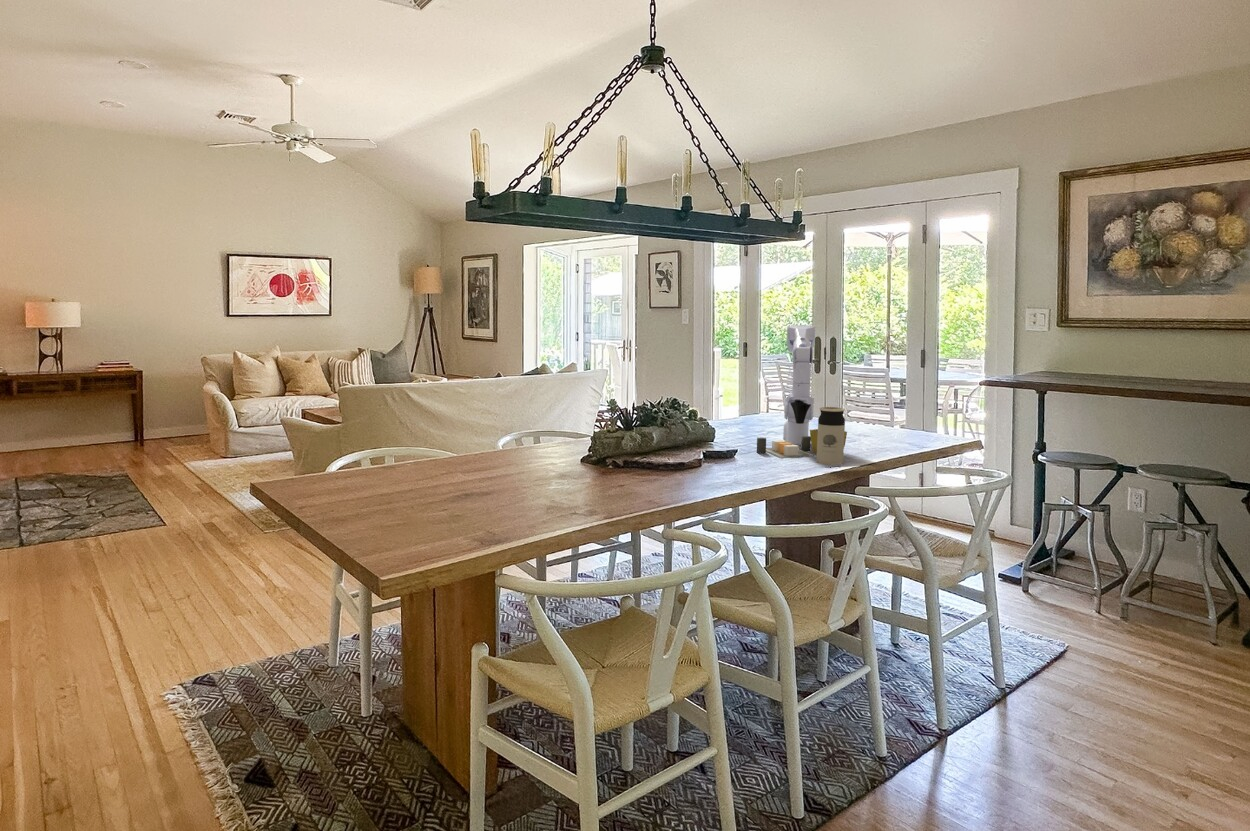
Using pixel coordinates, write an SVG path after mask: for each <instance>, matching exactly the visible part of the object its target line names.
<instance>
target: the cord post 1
mask: <svg viewBox="0 0 1250 831" xmlns="http://www.w3.org/2000/svg"><path fill="white" fill-rule="evenodd" d="M766 448H767V437H757V438H756V453H757V454H760V455H761V454H762V455H765V454H766V453H767V452H766Z"/></svg>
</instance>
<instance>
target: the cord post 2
mask: <svg viewBox="0 0 1250 831" xmlns="http://www.w3.org/2000/svg"><path fill="white" fill-rule="evenodd" d="M811 446H812V445H811V438H810V436H809V435H808V436H802V440H801V445H800V450H802V451H805V452H807V453H810V452H811Z"/></svg>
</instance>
